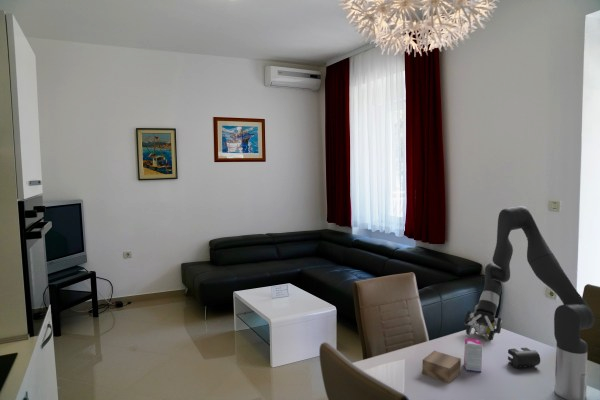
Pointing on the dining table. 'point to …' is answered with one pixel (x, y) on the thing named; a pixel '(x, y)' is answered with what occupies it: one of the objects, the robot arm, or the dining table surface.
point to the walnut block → (441, 366)
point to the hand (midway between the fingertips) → (478, 337)
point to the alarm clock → (482, 327)
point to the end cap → (523, 358)
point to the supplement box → (473, 355)
